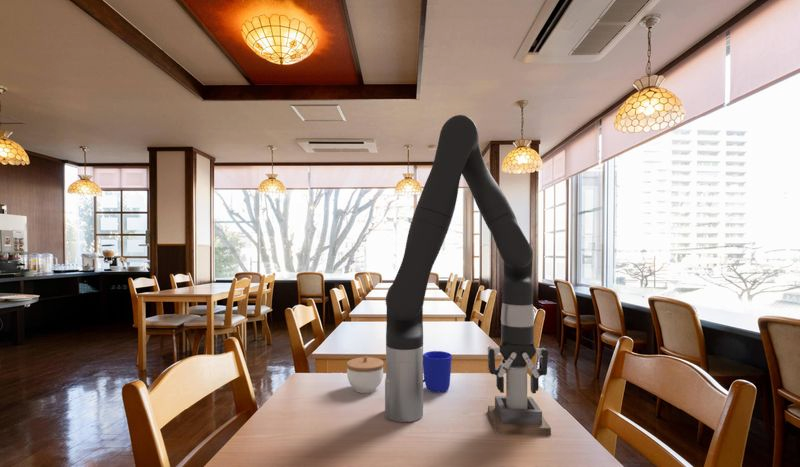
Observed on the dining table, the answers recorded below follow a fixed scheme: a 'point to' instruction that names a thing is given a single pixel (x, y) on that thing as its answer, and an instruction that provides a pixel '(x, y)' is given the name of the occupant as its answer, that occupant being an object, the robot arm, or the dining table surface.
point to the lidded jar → (365, 373)
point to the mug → (437, 370)
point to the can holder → (518, 418)
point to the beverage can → (516, 387)
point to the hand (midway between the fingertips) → (517, 391)
